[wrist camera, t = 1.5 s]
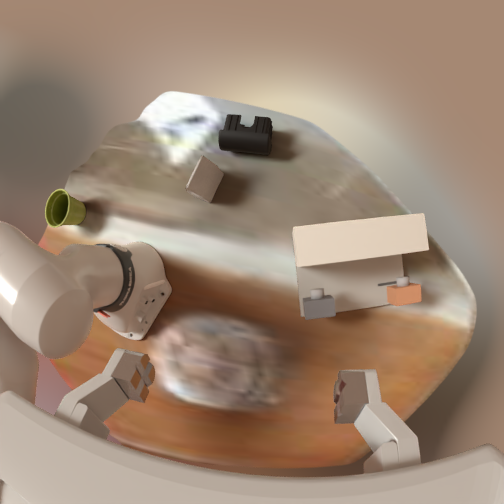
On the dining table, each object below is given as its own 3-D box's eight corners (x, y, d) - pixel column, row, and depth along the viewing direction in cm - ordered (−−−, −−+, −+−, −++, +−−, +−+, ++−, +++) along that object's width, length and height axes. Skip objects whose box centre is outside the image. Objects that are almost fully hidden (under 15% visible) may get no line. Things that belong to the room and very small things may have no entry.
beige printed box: (223, 174, 58) (211, 158, 49) (210, 203, 59) (195, 192, 49) (208, 168, 59) (194, 152, 49) (195, 197, 59) (178, 185, 49)
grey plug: (331, 310, 49) (335, 316, 44) (304, 314, 50) (305, 319, 45) (329, 286, 49) (333, 289, 45) (301, 289, 50) (303, 292, 45)
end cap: (223, 155, 59) (216, 143, 52) (230, 126, 59) (223, 112, 52) (269, 160, 57) (267, 148, 51) (274, 131, 57) (272, 116, 51)
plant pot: (70, 194, 64) (49, 188, 55) (94, 196, 63) (72, 189, 54) (64, 228, 64) (42, 225, 55) (87, 232, 63) (65, 229, 54)
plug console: (402, 300, 53) (432, 310, 39) (300, 315, 55) (304, 332, 41) (395, 223, 53) (423, 213, 39) (292, 235, 56) (293, 226, 42)
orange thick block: (410, 298, 47) (421, 301, 42) (387, 302, 48) (396, 306, 43) (409, 274, 47) (420, 275, 43) (385, 278, 48) (395, 280, 43)
